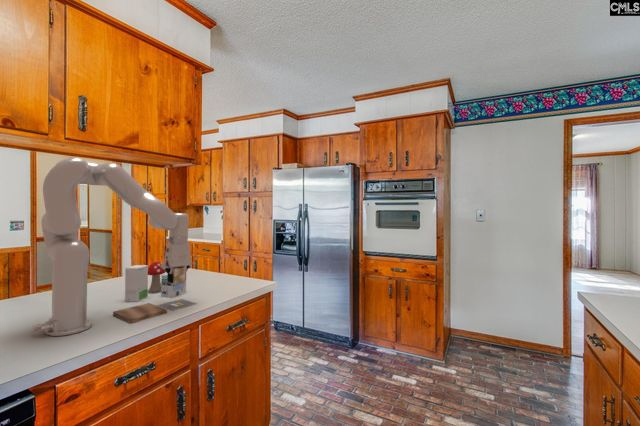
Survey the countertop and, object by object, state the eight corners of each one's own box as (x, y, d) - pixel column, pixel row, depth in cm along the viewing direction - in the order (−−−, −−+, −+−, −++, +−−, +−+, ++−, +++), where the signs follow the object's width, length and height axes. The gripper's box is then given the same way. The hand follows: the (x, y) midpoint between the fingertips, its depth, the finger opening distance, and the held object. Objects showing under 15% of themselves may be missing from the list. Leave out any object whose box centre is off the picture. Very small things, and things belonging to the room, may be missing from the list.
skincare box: (138, 302, 139) (138, 268, 139) (123, 302, 139) (124, 267, 139) (148, 297, 148) (148, 264, 147) (134, 296, 148) (135, 264, 147)
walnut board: (130, 323, 114) (130, 319, 114) (113, 315, 122) (113, 311, 122) (166, 313, 126) (166, 309, 126) (148, 306, 134) (148, 303, 134)
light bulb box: (172, 298, 147) (173, 275, 147) (160, 297, 148) (160, 274, 148) (186, 292, 157) (187, 271, 157) (175, 291, 159) (175, 270, 158)
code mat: (172, 311, 129) (172, 310, 129) (156, 305, 135) (156, 305, 135) (197, 304, 139) (197, 303, 139) (182, 299, 146) (182, 298, 146)
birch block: (174, 284, 133) (175, 268, 133) (167, 283, 136) (168, 267, 136) (184, 283, 137) (185, 267, 137) (178, 281, 140) (179, 266, 140)
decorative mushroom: (154, 288, 164) (154, 260, 163) (169, 289, 163) (169, 260, 162) (141, 293, 154) (141, 263, 153) (157, 294, 153) (158, 264, 153)
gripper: (164, 242, 128) (162, 286, 127) (200, 240, 142) (198, 279, 142) (154, 240, 132) (152, 283, 131) (190, 239, 146) (188, 277, 146)
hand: (176, 281), depth 137 cm, fingers closed on birch block, 5 cm apart
